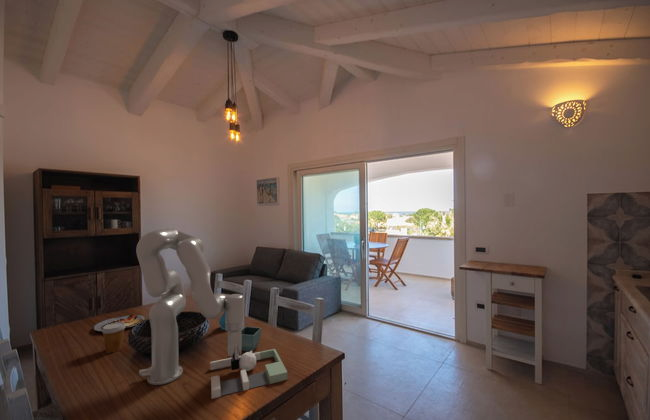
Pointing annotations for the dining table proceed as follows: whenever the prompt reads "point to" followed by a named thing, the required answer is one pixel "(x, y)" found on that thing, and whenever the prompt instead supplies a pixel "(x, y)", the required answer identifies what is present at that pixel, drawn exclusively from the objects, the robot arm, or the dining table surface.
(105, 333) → the disposable coffee cup
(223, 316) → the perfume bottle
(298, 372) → the dining table surface
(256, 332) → the flower pot
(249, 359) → the ornament
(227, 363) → the u-shaped rail frame
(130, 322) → the food plate
